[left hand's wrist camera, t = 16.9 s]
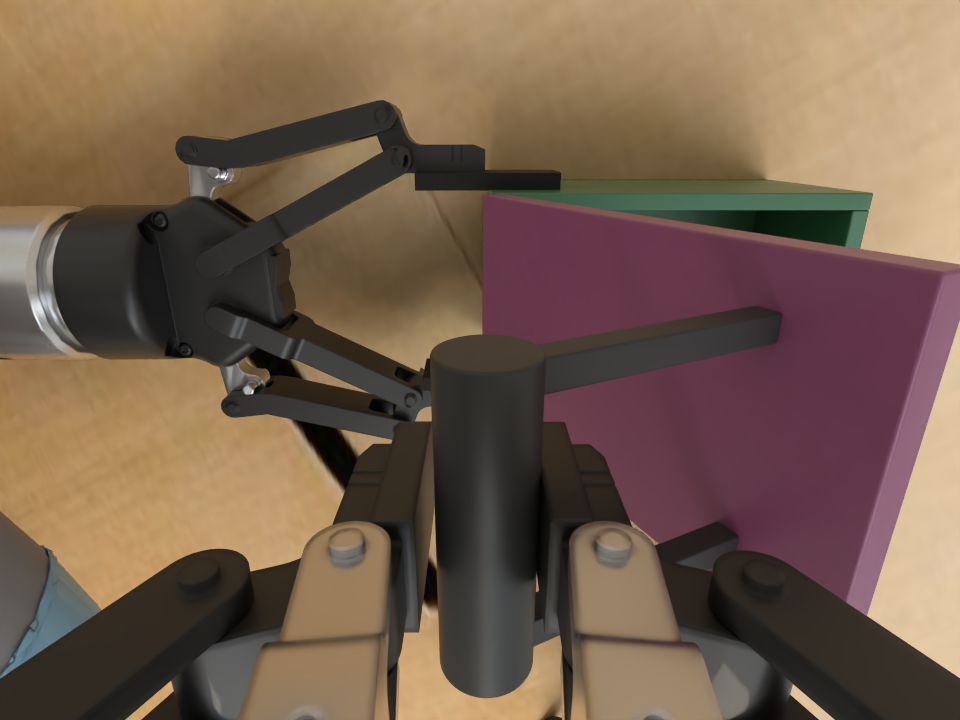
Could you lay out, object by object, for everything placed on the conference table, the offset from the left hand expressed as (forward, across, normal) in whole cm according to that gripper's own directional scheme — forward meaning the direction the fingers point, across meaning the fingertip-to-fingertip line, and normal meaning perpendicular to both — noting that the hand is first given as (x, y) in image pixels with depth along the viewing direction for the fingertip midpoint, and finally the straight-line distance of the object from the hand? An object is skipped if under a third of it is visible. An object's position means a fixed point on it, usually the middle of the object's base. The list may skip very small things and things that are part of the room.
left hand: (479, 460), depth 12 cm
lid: (+6, -5, 0) cm, 8 cm away
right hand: (+17, -4, 0) cm, 18 cm away
